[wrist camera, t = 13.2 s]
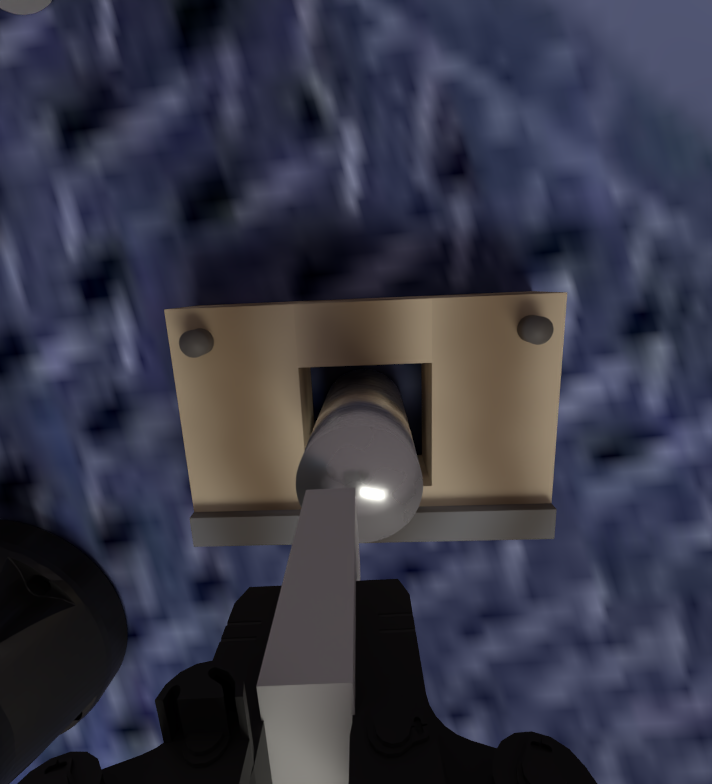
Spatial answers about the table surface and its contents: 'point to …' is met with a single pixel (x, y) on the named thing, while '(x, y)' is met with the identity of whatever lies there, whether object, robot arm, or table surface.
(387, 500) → the grey metal peg
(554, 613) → the table surface
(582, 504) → the table surface
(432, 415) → the plate
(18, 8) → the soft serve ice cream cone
